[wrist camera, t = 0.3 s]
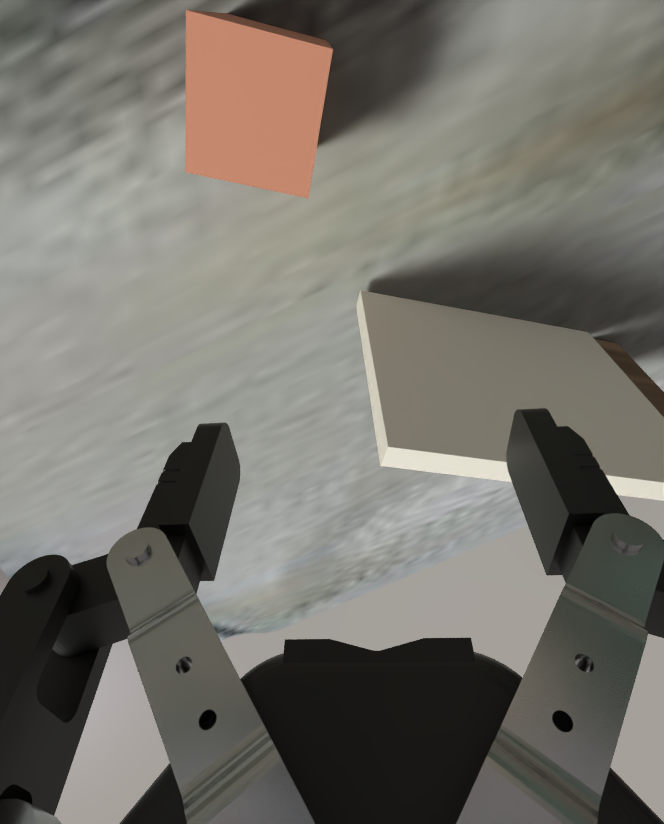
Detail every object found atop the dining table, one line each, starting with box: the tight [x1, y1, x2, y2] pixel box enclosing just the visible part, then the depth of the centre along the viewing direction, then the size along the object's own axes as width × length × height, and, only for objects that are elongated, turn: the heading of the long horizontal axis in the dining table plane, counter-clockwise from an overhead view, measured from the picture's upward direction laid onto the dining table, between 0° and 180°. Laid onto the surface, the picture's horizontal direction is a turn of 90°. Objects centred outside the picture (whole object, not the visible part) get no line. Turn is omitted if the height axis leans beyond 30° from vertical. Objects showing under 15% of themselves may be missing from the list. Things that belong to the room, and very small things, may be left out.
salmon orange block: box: [185, 10, 333, 198], centre depth 21 cm, size 5×5×10 cm
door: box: [356, 291, 664, 500], centre depth 27 cm, size 17×2×15 cm, turn 78°
